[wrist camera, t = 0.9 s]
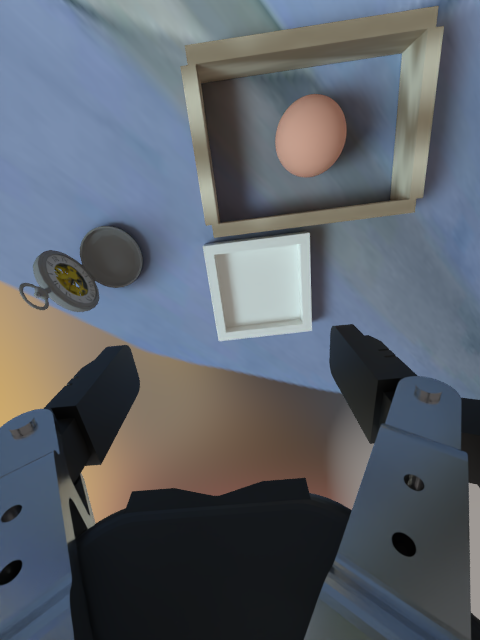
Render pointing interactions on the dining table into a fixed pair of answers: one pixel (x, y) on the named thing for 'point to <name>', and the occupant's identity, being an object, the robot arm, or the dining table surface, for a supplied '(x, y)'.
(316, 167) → the ball
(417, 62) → the beige rectangular frame
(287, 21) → the dining table surface
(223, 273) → the dish
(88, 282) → the pocket watch
